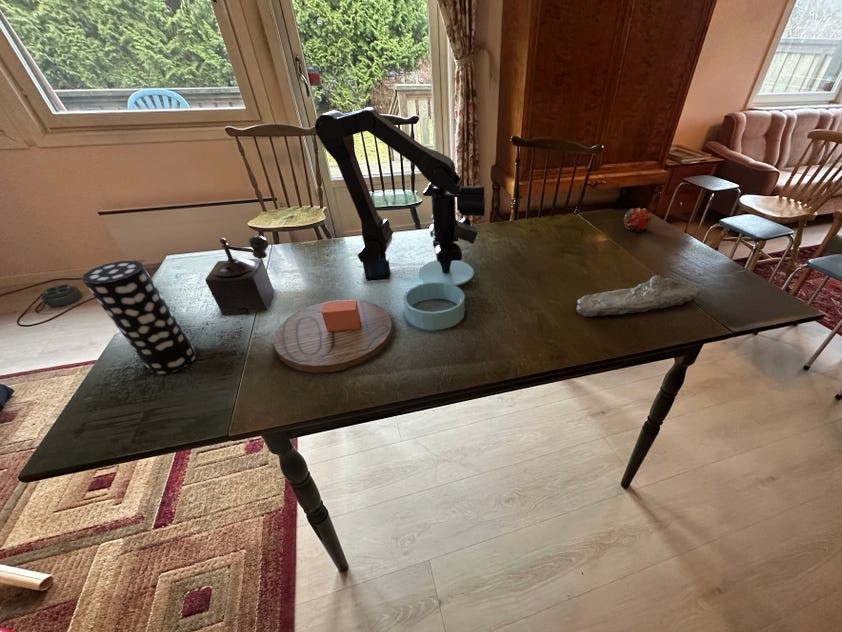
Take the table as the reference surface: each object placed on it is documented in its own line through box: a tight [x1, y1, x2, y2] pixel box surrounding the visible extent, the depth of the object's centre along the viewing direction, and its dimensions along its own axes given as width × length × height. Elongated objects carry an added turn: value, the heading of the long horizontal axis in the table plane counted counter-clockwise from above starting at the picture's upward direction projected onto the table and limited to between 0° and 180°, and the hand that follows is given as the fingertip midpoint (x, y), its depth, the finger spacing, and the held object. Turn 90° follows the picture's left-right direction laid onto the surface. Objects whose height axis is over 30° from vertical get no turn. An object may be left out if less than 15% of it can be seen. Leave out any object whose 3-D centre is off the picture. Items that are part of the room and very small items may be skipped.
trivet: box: [273, 299, 393, 374], centre depth 84 cm, size 25×25×2 cm
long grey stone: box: [576, 275, 699, 318], centre depth 96 cm, size 35×5×10 cm
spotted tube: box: [81, 260, 198, 375], centre depth 70 cm, size 8×8×20 cm
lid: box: [417, 259, 475, 287], centre depth 103 cm, size 15×15×5 cm
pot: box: [402, 282, 466, 331], centre depth 90 cm, size 14×14×5 cm
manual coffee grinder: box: [204, 235, 275, 316], centre depth 89 cm, size 16×11×18 cm
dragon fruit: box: [622, 207, 652, 232], centre depth 135 cm, size 8×8×12 cm
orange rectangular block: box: [322, 299, 361, 332], centre depth 83 cm, size 7×4×5 cm, turn 102°
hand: (446, 270), depth 104 cm, fingers closed on lid, 2 cm apart
